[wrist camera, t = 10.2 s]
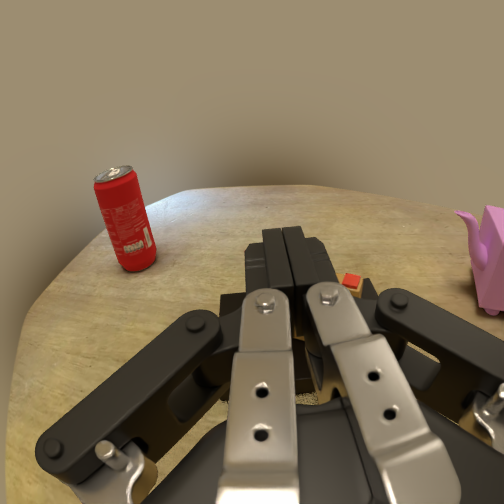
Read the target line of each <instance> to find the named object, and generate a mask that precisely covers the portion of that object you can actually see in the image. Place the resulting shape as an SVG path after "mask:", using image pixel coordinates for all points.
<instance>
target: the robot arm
mask: <svg viewBox="0 0 504 504" xmlns="http://www.w3.org/2000/svg"><path fill="white" fill-rule="evenodd" d="M262 236H263V242H262V243H252V244H249V246H248V247H247V249H246V250H245V281H246V297H245V299H244V300H243V304H242V306H241V307H240V308H239V309H237V310H236V311H234V312H232V313H230V314H227V315H224V316H221V317H217V315H215V314H214V313H213V312H211V311H208V310H193V311H190V312H187V313H185V314H183V315H182V316H181V317H179V318H178V319H177V320H176V321H175V322H173V323H172V324H171V325H170V326H169V327H168V328H166V329H165V330H164V331H163V332H162V333H161V334H159V335H158V336H157V337H156V338H155V339H154V340H152V341H151V342H150V343H149V344H148V345H146V346H145V347H144V348H143V349H142V350H141V351H139V352H138V353H137V354H136V355H135V356H134V357H132V358H131V359H130V360H129V361H128V362H126V363H125V364H124V365H123V366H122V367H121V368H119V369H118V370H117V371H116V372H115V373H114V374H112V375H111V376H110V377H109V378H108V379H106V380H105V381H104V382H103V383H102V384H101V385H99V386H98V387H97V388H96V389H95V390H93V391H92V392H91V393H90V394H89V395H88V396H86V397H85V398H84V399H83V400H82V401H81V402H79V403H78V404H77V405H76V406H75V407H73V408H72V409H71V410H70V411H69V412H68V413H66V414H65V415H64V416H63V417H62V418H60V419H59V420H58V421H57V422H56V423H55V424H53V425H52V426H51V427H50V428H49V429H47V430H46V431H45V432H44V433H43V434H42V435H41V436H40V437H39V439H38V441H37V443H36V447H35V457H36V460H37V463H38V464H39V466H40V467H41V468H42V469H43V470H44V471H46V472H48V473H49V474H51V475H52V476H54V477H56V478H57V479H59V480H60V481H61V482H62V483H64V484H66V485H67V486H69V487H70V488H71V489H72V491H73V492H74V493H75V494H76V496H77V497H78V498H79V499H80V501H81V502H82V503H83V504H504V341H502V340H501V339H499V338H497V337H495V336H493V335H491V334H489V333H488V332H486V331H484V330H482V329H480V328H478V327H476V326H475V325H473V324H471V323H469V322H467V321H465V320H463V319H461V318H460V317H458V316H456V315H454V314H452V313H450V312H448V311H446V310H444V309H442V308H440V307H438V306H437V305H435V304H433V303H431V302H429V301H427V300H425V299H423V298H421V297H419V296H417V295H415V294H413V293H411V292H409V291H407V290H404V289H400V288H391V289H387V290H385V291H383V292H382V293H380V295H379V296H378V299H377V300H372V299H363V298H358V297H355V296H352V295H351V293H350V291H349V290H348V289H347V288H346V287H345V286H344V285H342V284H340V283H339V280H338V278H337V275H336V273H335V271H334V268H333V266H332V263H331V261H330V258H329V256H328V253H327V251H326V249H325V246H324V244H323V243H322V242H321V241H319V240H318V239H317V238H316V237H311V238H305V237H304V234H303V231H302V228H301V226H294V227H284V228H282V232H281V228H274V229H264V230H262ZM295 332H296V337H301V336H304V340H305V356H306V360H307V363H308V366H309V370H310V373H311V377H312V380H313V384H314V387H315V391H316V394H317V398H318V405H305V404H296V400H295V381H294V364H293V350H292V338H293V337H295ZM408 341H409V342H410V343H412V344H414V345H416V346H417V347H419V348H421V349H423V350H424V351H426V352H428V353H430V354H431V355H433V356H435V357H436V358H437V359H438V360H439V361H440V363H438V362H435V361H434V360H432V359H430V358H428V357H427V356H425V355H423V354H421V353H420V352H418V351H416V350H415V349H413V348H411V347H409V346H408V345H407V344H408ZM229 388H230V395H229V406H228V416H227V420H225V421H224V422H222V423H220V424H218V425H217V426H215V427H214V428H212V429H211V430H210V431H209V432H207V433H206V434H205V435H204V436H203V437H202V438H201V439H200V440H199V442H198V443H197V444H196V445H195V446H194V447H193V448H192V449H191V451H190V452H189V453H188V454H187V455H186V456H185V457H184V458H183V459H182V460H181V461H180V463H179V464H178V465H177V466H176V467H175V468H174V469H173V470H172V471H171V472H170V473H169V474H168V475H167V476H166V477H165V479H164V480H163V481H162V482H161V483H160V484H159V485H158V486H157V487H156V488H155V489H154V490H153V491H152V492H151V493H150V494H149V492H150V490H151V489H152V488H153V486H154V485H155V483H156V481H157V478H158V470H157V467H156V465H155V464H156V463H157V462H158V461H159V460H160V459H161V458H162V457H163V456H164V455H165V454H166V453H167V452H168V451H169V450H170V449H171V448H172V447H173V446H174V445H175V444H176V443H177V442H178V441H179V440H180V439H181V438H182V437H183V436H184V435H185V434H186V433H187V432H188V431H189V430H190V429H191V428H192V427H193V426H194V425H195V424H196V423H197V422H198V421H199V420H200V419H201V418H202V417H203V415H204V414H205V413H206V412H207V411H208V410H209V409H210V408H211V407H212V406H213V405H214V404H215V403H216V402H217V401H218V400H219V399H220V397H221V396H222V395H223V394H224V393H225V392H226V391H227V390H228V389H229ZM417 399H418V400H417ZM435 410H436V411H435ZM438 412H439V413H438ZM441 414H442V415H441ZM443 415H444V416H445V417H444V416H443ZM446 417H447V418H449V419H450V420H449V419H447V418H446ZM451 420H452V421H454V422H455V423H457V424H459V426H458V425H457V424H455V423H454V422H452V421H451ZM148 494H149V495H148Z"/></svg>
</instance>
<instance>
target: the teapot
mask: <svg viewBox="0 0 504 504" xmlns="http://www.w3.org/2000/svg"><path fill="white" fill-rule="evenodd" d="M455 213H456V214H457V215H458V216H460V217H461V218H462V219H463V220H464V222H465V223H466V225H467V228H468V246H469V253H470V257H471V265H472V270H473V274H474V279H475V285H476V290H477V296H478V302H479V307H482V308H484V309H485V311H486V312H487V313H488V314H490V315H497V314H498V313H499V311H504V209H503V208H499V207H494V206H489V205H486V206H485V210H484V214H483V218H482V222H481V226H480V230H479V227H478V223H477V220H476V219H475V217H474V216H473V215H471V214H469V213H467V212H463V211H455Z"/></svg>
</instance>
